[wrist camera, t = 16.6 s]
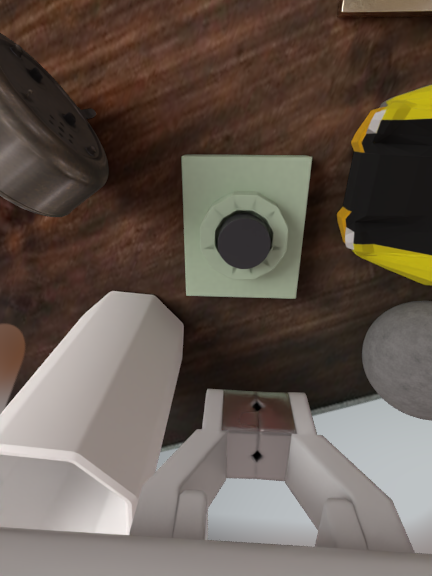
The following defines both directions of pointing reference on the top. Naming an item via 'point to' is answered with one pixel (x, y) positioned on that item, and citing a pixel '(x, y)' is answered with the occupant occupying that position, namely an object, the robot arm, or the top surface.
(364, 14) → the switch bracket
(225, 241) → the button
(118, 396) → the cup
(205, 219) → the button box
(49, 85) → the alarm clock
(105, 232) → the top surface
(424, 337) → the decorative ball
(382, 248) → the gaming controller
